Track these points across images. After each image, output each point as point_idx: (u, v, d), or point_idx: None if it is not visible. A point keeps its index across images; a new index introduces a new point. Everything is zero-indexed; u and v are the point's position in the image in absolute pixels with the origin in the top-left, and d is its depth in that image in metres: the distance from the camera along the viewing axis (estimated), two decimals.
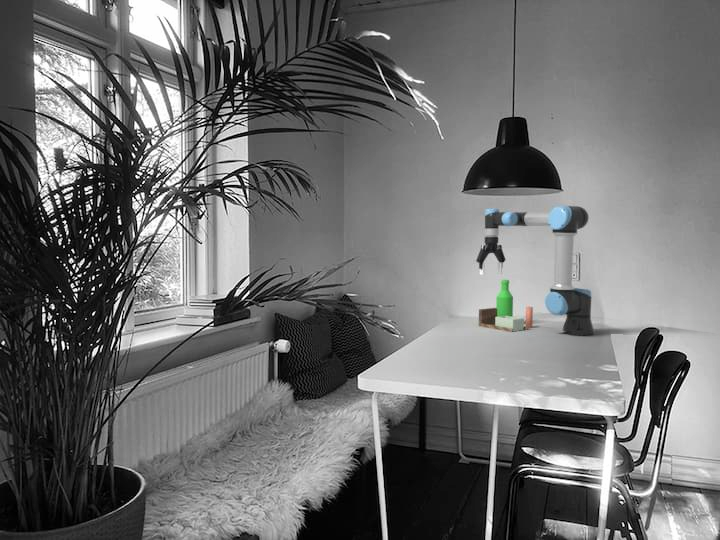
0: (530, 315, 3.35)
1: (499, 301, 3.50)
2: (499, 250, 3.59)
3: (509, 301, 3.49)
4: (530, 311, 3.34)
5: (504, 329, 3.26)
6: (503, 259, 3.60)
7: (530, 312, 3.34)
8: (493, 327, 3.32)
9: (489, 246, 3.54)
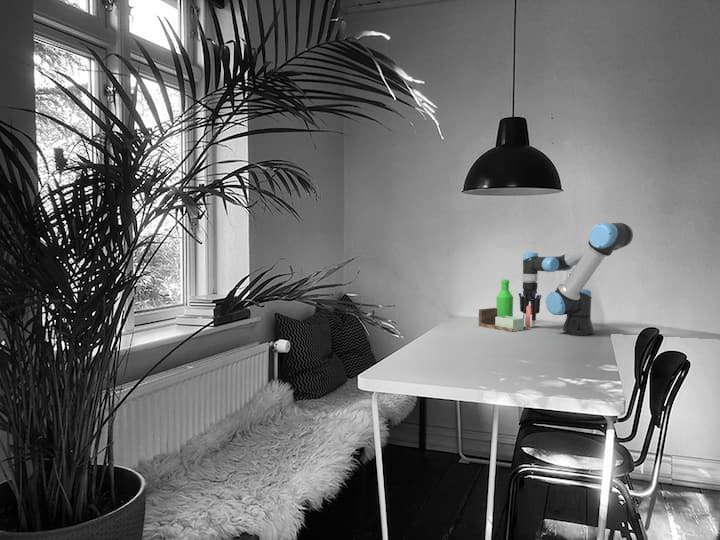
0: None
1: (499, 301, 3.50)
2: None
3: (509, 301, 3.48)
4: (530, 310, 3.34)
5: (504, 329, 3.26)
6: (534, 310, 3.32)
7: (530, 311, 3.34)
8: (493, 327, 3.32)
9: (524, 291, 3.37)
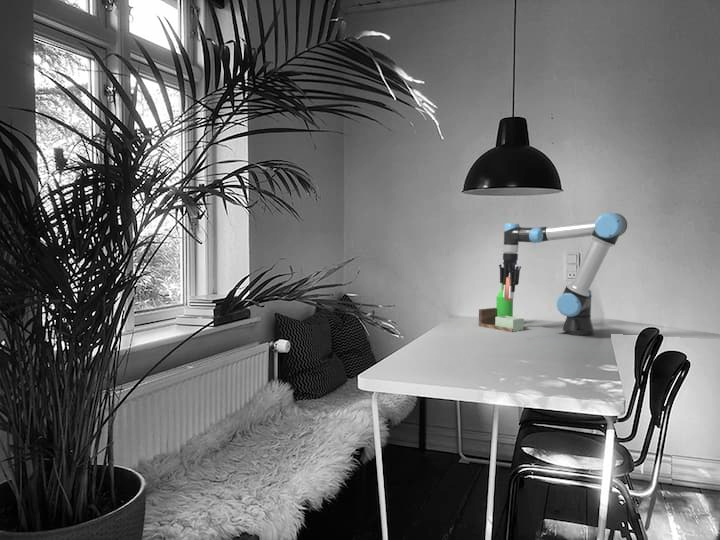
0: None
1: (499, 301, 3.50)
2: None
3: (509, 301, 3.49)
4: (510, 281, 3.31)
5: (504, 329, 3.26)
6: (513, 282, 3.28)
7: (510, 282, 3.31)
8: (493, 327, 3.32)
9: (504, 262, 3.33)
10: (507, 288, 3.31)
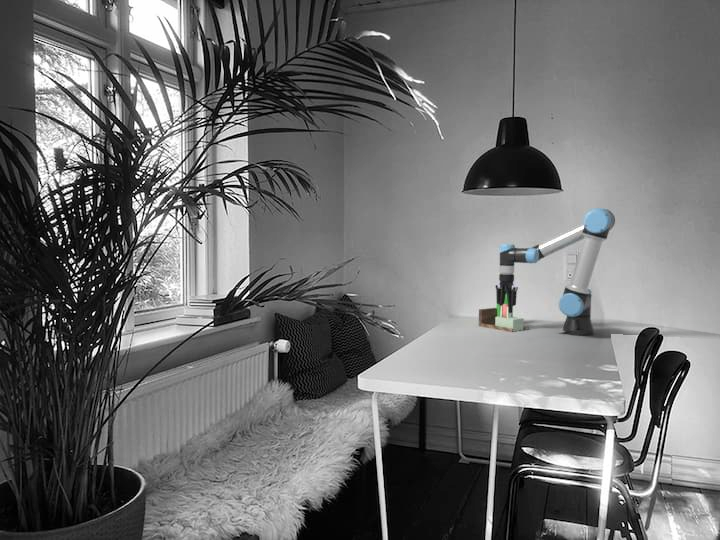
0: None
1: None
2: None
3: None
4: None
5: (504, 329, 3.26)
6: (511, 303, 3.28)
7: None
8: (493, 327, 3.32)
9: (501, 283, 3.33)
10: (504, 315, 3.31)
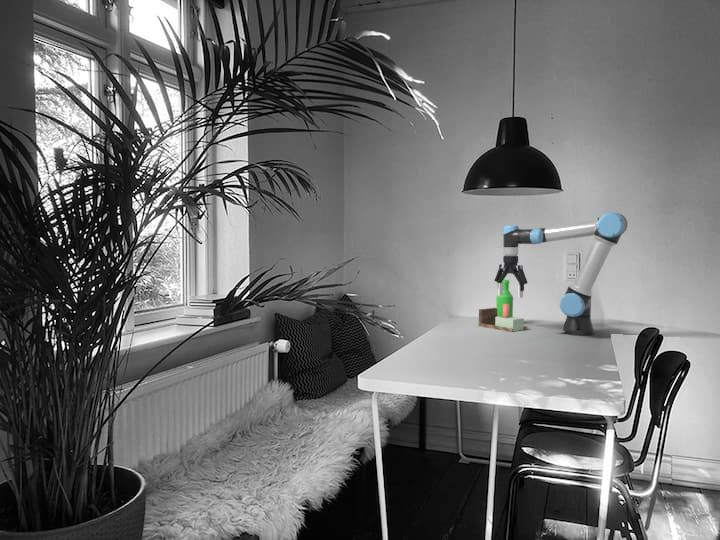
0: (507, 312, 3.31)
1: (499, 301, 3.50)
2: None
3: (509, 301, 3.49)
4: (507, 308, 3.31)
5: (504, 329, 3.26)
6: (522, 281, 3.21)
7: (507, 309, 3.31)
8: (493, 327, 3.32)
9: (505, 266, 3.30)
10: (504, 315, 3.31)
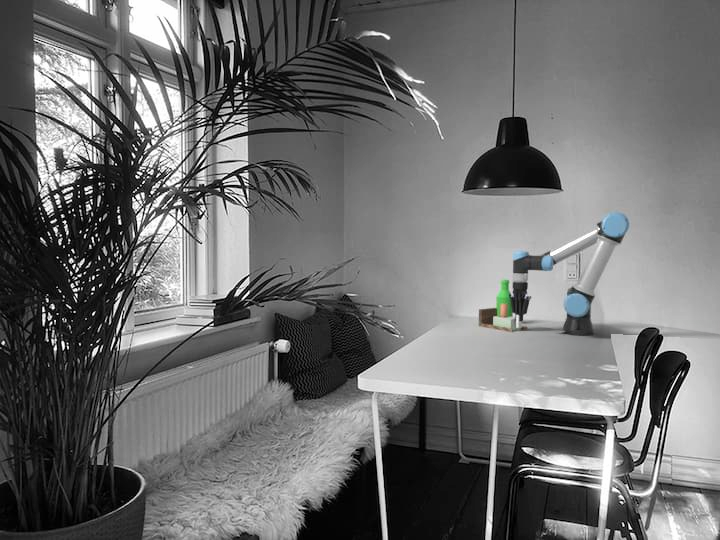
0: (504, 312, 3.32)
1: (499, 301, 3.50)
2: None
3: (509, 301, 3.49)
4: (504, 308, 3.32)
5: (504, 329, 3.26)
6: (522, 311, 3.22)
7: (504, 309, 3.32)
8: (493, 327, 3.32)
9: (514, 291, 3.26)
10: (502, 314, 3.32)
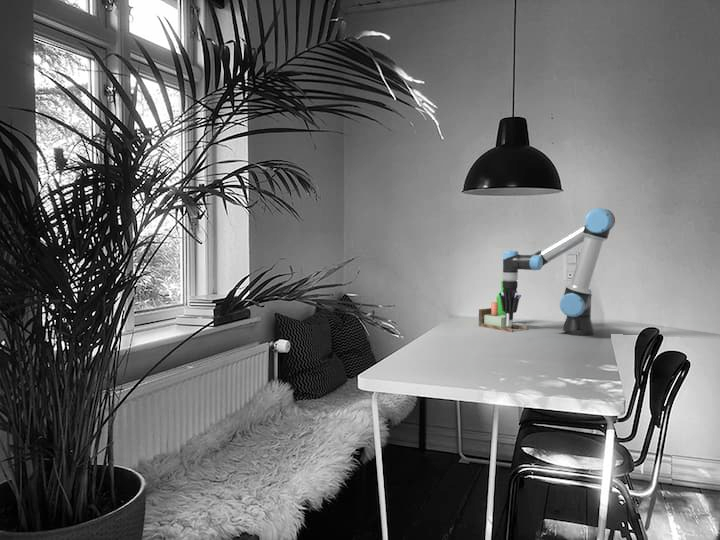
0: (495, 310, 3.37)
1: (499, 301, 3.50)
2: None
3: None
4: (495, 306, 3.37)
5: (504, 329, 3.26)
6: (512, 310, 3.27)
7: (495, 307, 3.37)
8: (493, 327, 3.32)
9: (504, 290, 3.31)
10: (493, 313, 3.38)
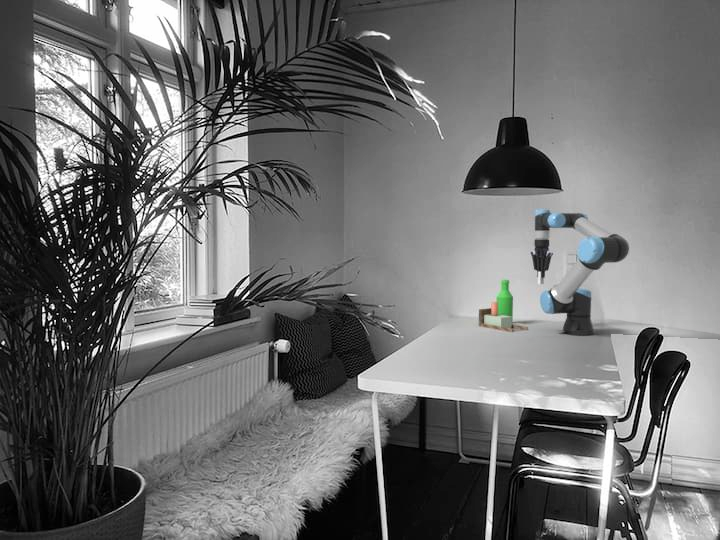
0: (495, 310, 3.37)
1: (499, 301, 3.50)
2: None
3: (509, 301, 3.48)
4: (495, 306, 3.37)
5: (504, 329, 3.26)
6: (544, 267, 3.32)
7: (495, 307, 3.37)
8: (493, 327, 3.32)
9: (536, 248, 3.36)
10: (493, 313, 3.38)
